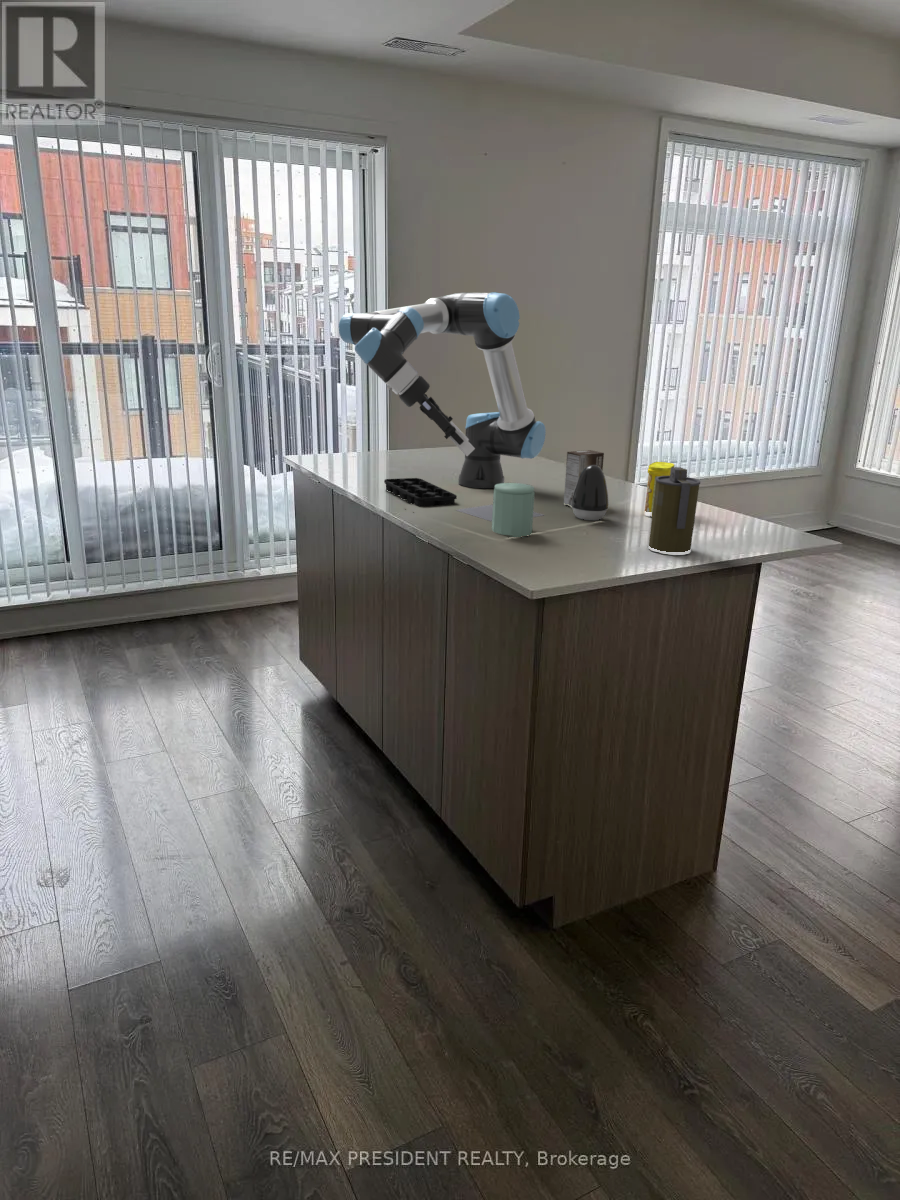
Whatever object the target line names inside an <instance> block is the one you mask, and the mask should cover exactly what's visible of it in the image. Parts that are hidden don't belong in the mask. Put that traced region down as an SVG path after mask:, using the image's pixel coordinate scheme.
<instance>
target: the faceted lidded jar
mask: <svg viewBox="0 0 900 1200" xmlns="http://www.w3.org/2000/svg"><path fill="white" fill-rule="evenodd" d="M535 493H536V492H535V486H533V485H530V484H527V483H519V482H504V483H500V484H496V485H495V488H493V496H492V497H493V498H492V499H493V501H492V504H493V515H492V521H491V530H492V531H493V533H496V534H499V535H502V536H503V535H504V536H509V537H521V536H527V535H530V534H531V533H533V520H534V517H533V512H534V506H535ZM531 535H532V534H531ZM531 535H530V536H531Z"/></svg>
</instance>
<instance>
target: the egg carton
mask: <svg viewBox="0 0 900 1200" xmlns="http://www.w3.org/2000/svg"><path fill="white" fill-rule="evenodd" d="M384 484H385V490H388V491H391V492H390V493H392V492H393V493H392V495H394V494H395V495H394V496H396V495H400V496H399V498H400V497H401V498H402V499H401V498H400V499H401V500H403V499H407V500H406V502H407V501H408V502H409V503H408V502H407V503H408V504H410V503H412V504H411V505H415V506H418V507H431V506H432V507H433V506H435V505H439V506H447V505H455V501H456V500H457V496H458V495H457V494H455V493H453V492H450V491H448V490H447V489H444V488H442V487H439V486H437V485H435V484H433V483H431V482H429V481H427V480H425V479H423V478H419V477H418V478H417V477H409V478H408V477H406V478H385V479H384ZM388 491H387V492H388Z"/></svg>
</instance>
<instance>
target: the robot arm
mask: <svg viewBox="0 0 900 1200" xmlns="http://www.w3.org/2000/svg"><path fill="white" fill-rule="evenodd" d="M520 319H521V317H520V310H519V307H518V305H517V303H516V301H515V299H514V298H513V297H512V296H510V295H509V294H508V293H500V292H495V291H492V292H468V291H462V292H455V293H450V294H447V295H442V296H438V297H431V298H429V299H427V300H426V301H425V302H424V303H419V304H413V305H407V306H400V307H394V308H387V309H382V310H381V309H380V310H375V311H371V312H370V311H369V312H364V313H362V312H361V313H357V312H351V313H349V312H347V313H345V314H344V315H342V316H341V318H340V320H339V323H338V334H339V337H340V339H341V341H343V342H344V343H346V344H352V345H354V351H355V352H356V354H357V355H358V356H359V358H360V359H361V360H362V361H363V362H364V364H365V365H367V366H368V367H369V368H370V369H371V371H372V372H373V373H374V374H375V375H377V376H378V377H379V378H380V379H381V381H383V382H384V384H386V385H387V387H386V389H387V391H392V392H393V393H394V394H395V395H398V398H399V400H401V401H402V402H403V404H404V405H405V406H406V407H408V408H410V407H412V406H414V405H415V404H416V403H418V404H419V405H420V407H419V410H420V411H421V412H422V413H423V414H424V415H426V416H427V417H428V419H430V420H431V421H433V422H434V423H435V424H436V425H437V426H438V428H440V429H441V431H442V432H443V433H444V438H445V439H446V440H448V439H450V440H451V441H452V443H454V445H455V446H457V448H458V449H459V450H460V451H461V452H462V453H463V454H464V461H463V463H462V467H461V470H460V473H459V475H458V481H457V482H458V485H460V486H463V487H466V488H472V489H473V488H474V489H495V485H496V484H500V483H505V481H506V480H505V475H504V472H503V468H502V463H501V456H508V457H511V458H512V457H513V458H520V459H534V458H536V457H537V456H538V455H539V454H540V453H541V451H542V449H543V447H544V444H545V440H546V434H547V433H546V431H547V430H546V426H545V424H544V422H542V421H540V420H538V421H537V420H536V416H535V413H534V412H533V410H532V409H531V408H528V406H527V405H528V404H527V401H526V398H525V394H524V390H523V385H522V380H521V375H520V371H519V369H518V367H519V366H518V363H517V360H516V355H515V351H514V346H513V341H514V339H515V337H516V334H517V332H518V330H519V327H520V321H519V320H520ZM424 333H431V334H433V335H439V334H450V335H458V336H468V337H473V339H474V340H473V341H474V345H475V346H476V348H477V349H478V350H480V351H482V352H483V356H484V360H485V364H486V368H487V371H488V375H489V379H490V382H491V386H492V390H493V391H492V392H493V393H494V397H495V401H496V405H497V409H498V411H495V412H494V411H493V412H481V413H473V414H472V413H471V414H469V415H468V416H467V417H466V422H465V428H464V429H465V433H464V432H463V431H461V429H460V428H459V427H458V426H457V425H456V424H455V423H454V421H453V419H454V418H453V417H452V416H451V415H449V416H448V415H447V414H445V413H444V412H443V411H442V409H441V408H440V406H439V404H438V403H437V402H436V400H435V399H434V398H433V397H432V396H429V397H428V394H427V392H428V391H429V390H430V387H431V385H430V383H429V382H428V381H427V380H426V379H425V378H424V377H423V376H422V375H418V374H419V372H418V370H417V369H416V367H414V366H413V365H412V364H411V363H410V361H408V360H407V359H406V358H405V357H404V356H403V355H404V352H406V350H407V349H409V347H410V346H411V345H412V344H413V343H414V342H415V341H416V340H417V339H418V337H419V336H420V334H424Z"/></svg>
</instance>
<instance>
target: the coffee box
mask: <svg viewBox="0 0 900 1200" xmlns="http://www.w3.org/2000/svg"><path fill="white" fill-rule="evenodd" d="M604 455H605V453H604V452H603V451H602V452H601V451H598V450H597V451H595V450H592V449H586V450H585V449H584V450H573V451H571V450H570V451H567V452H566V466H565V478H564V493H563V494H564V495H563V504H564V503H565V504H569V505H571V502H572V497H573V493H574V490H575V487H576V484H577V481H578V479H579V476H580V475H581V473H582V471H583V470H584V469H585V468H586V467H587V466H589V465H597V466H598V467H600V468H601V470H602V471H604V470H603V469H604V467H603V466H604V459H605V457H604Z"/></svg>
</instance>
